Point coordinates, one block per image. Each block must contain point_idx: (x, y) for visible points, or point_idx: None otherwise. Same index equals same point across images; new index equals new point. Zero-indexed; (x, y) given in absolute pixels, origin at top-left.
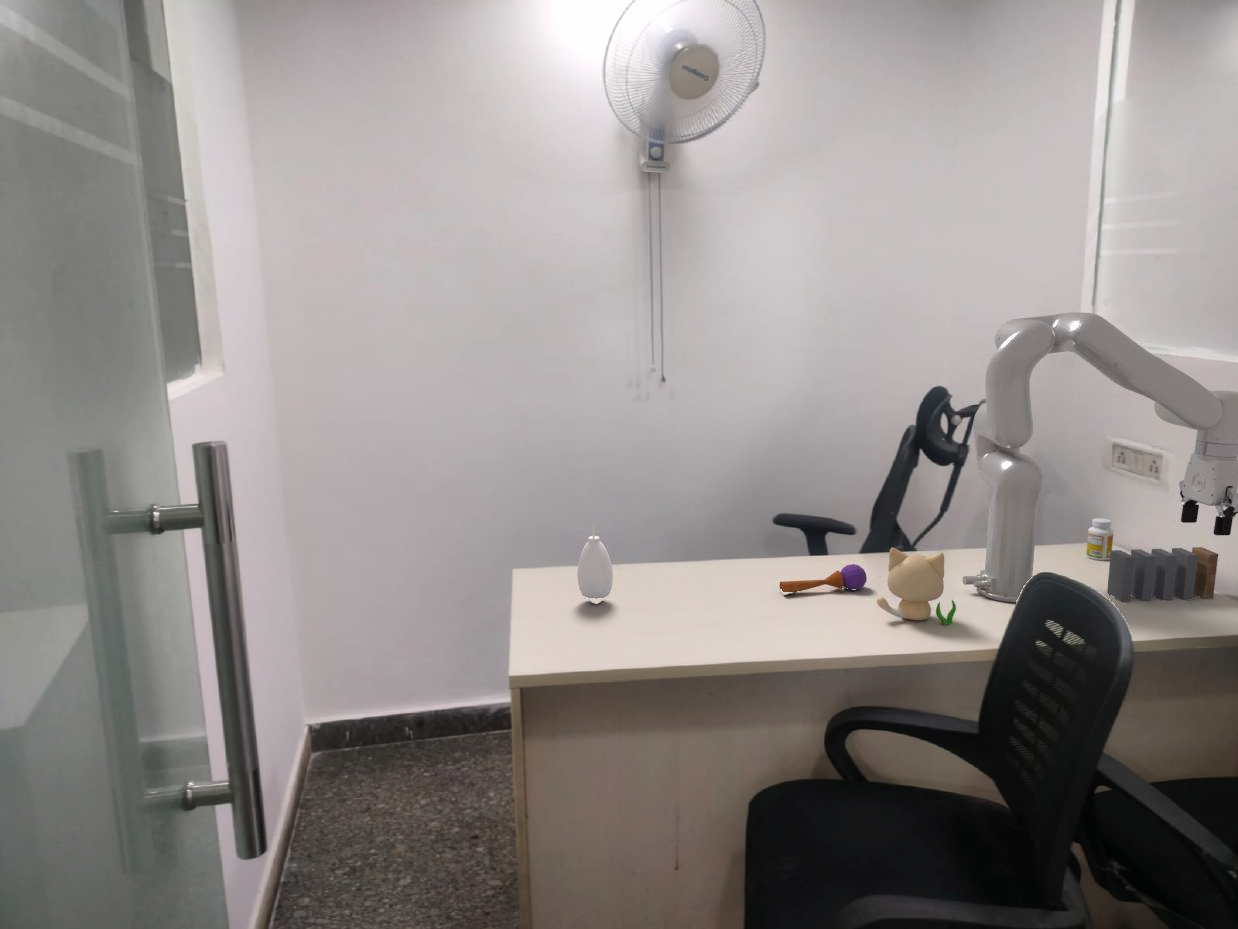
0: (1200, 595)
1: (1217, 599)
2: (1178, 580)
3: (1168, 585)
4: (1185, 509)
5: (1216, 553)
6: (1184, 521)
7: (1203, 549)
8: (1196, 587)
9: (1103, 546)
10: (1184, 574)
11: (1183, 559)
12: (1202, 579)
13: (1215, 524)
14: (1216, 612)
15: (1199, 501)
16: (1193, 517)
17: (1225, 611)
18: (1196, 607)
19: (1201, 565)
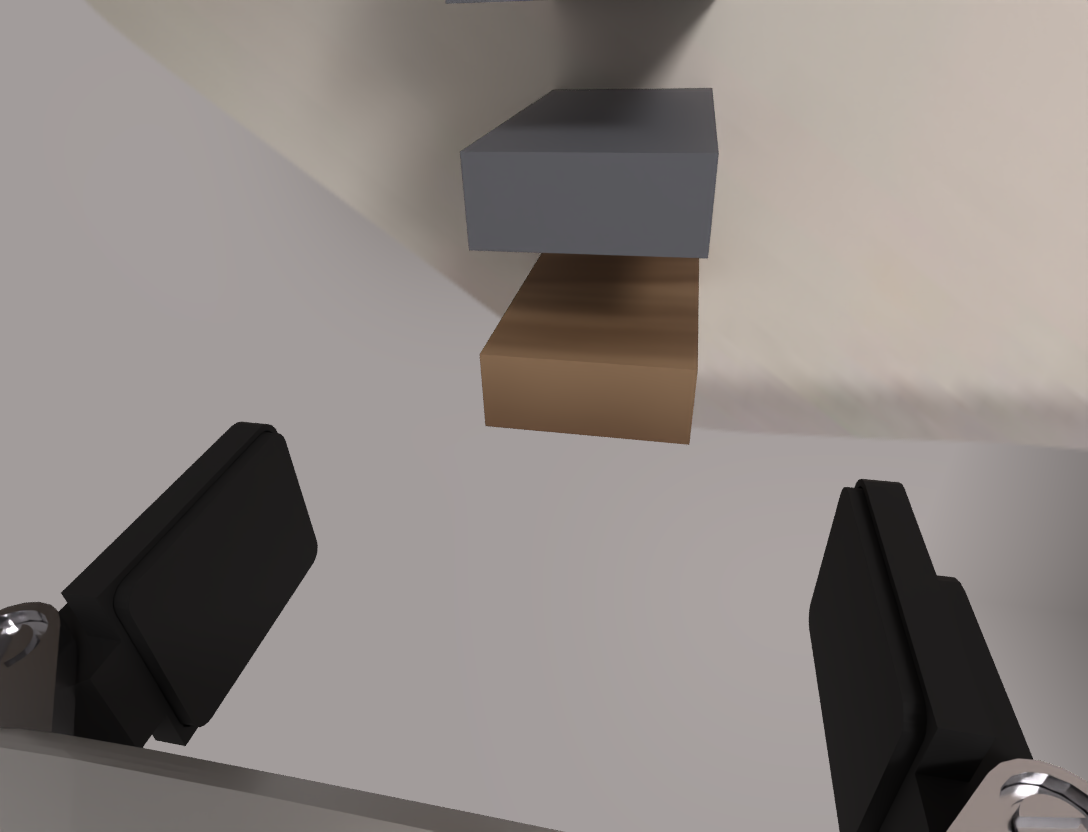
0: None
1: None
2: (601, 105)
3: None
4: (887, 652)
5: (501, 424)
6: (846, 500)
7: (621, 412)
8: None
9: None
10: (530, 116)
11: (532, 137)
12: (564, 268)
13: (176, 501)
14: (350, 144)
15: (225, 790)
16: (824, 636)
17: (369, 205)
18: (423, 81)
19: (574, 307)
